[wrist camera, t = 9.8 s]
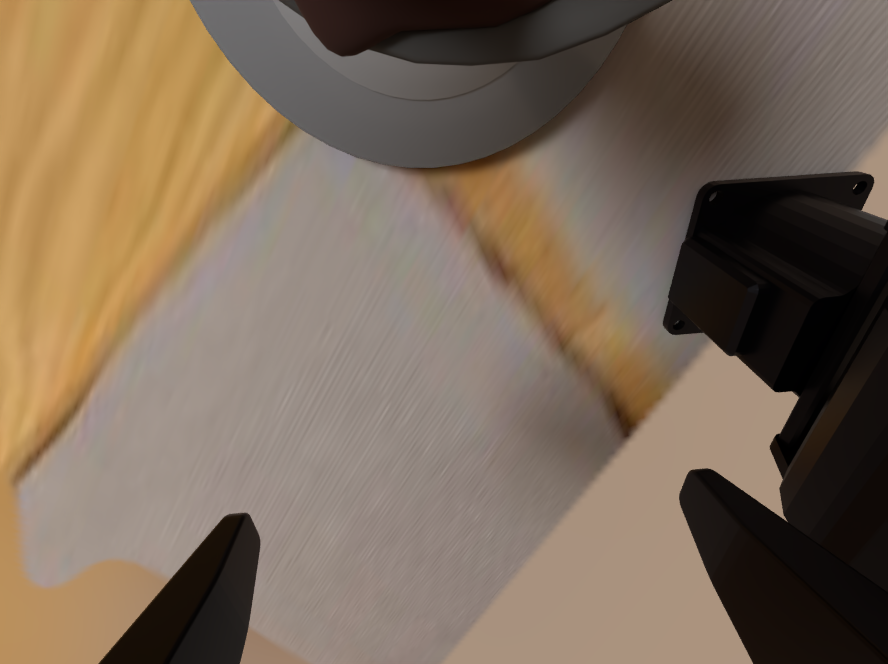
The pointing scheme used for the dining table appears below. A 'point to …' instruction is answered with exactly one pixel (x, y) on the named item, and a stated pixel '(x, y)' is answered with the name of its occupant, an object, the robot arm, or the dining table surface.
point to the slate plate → (395, 89)
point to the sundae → (465, 27)
